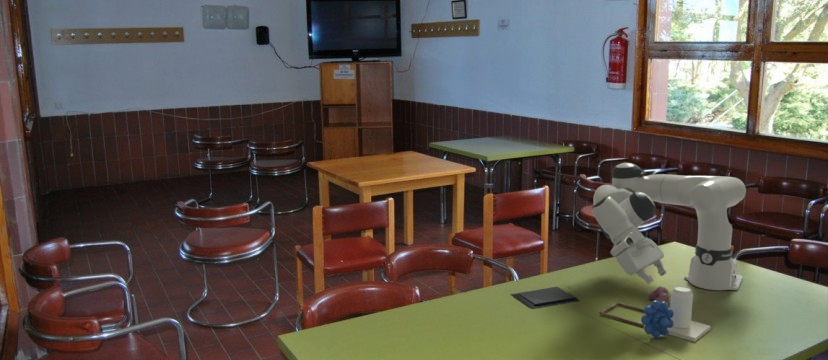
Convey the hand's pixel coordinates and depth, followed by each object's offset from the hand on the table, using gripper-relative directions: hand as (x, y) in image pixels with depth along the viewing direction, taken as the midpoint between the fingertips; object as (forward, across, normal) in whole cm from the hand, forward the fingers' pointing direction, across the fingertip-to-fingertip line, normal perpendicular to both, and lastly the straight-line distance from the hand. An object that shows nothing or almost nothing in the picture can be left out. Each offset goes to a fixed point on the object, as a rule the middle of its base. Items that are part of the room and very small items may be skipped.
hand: (657, 278), depth 214 cm
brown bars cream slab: (+10, -1, -11) cm, 15 cm away
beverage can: (+15, 0, -4) cm, 16 cm away
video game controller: (+7, -16, -15) cm, 23 cm away
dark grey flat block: (-15, +4, -37) cm, 41 cm away
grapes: (+15, +11, -6) cm, 19 cm away
